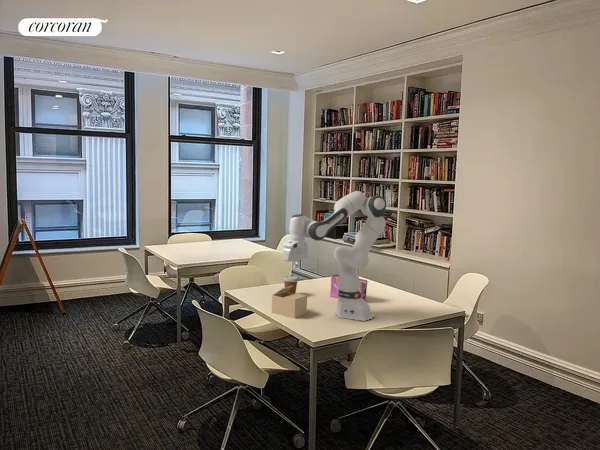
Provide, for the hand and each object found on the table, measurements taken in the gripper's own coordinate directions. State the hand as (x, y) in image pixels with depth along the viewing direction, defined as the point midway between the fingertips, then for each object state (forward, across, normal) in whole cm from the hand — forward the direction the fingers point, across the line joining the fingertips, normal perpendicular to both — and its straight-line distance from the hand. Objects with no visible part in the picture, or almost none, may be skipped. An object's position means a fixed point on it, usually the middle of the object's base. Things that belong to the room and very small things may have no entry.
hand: (295, 267), depth 279 cm
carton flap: (+15, 0, -8) cm, 17 cm away
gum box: (+28, -52, +7) cm, 59 cm away
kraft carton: (+27, 0, -3) cm, 27 cm away
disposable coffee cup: (+27, -32, -25) cm, 49 cm away
